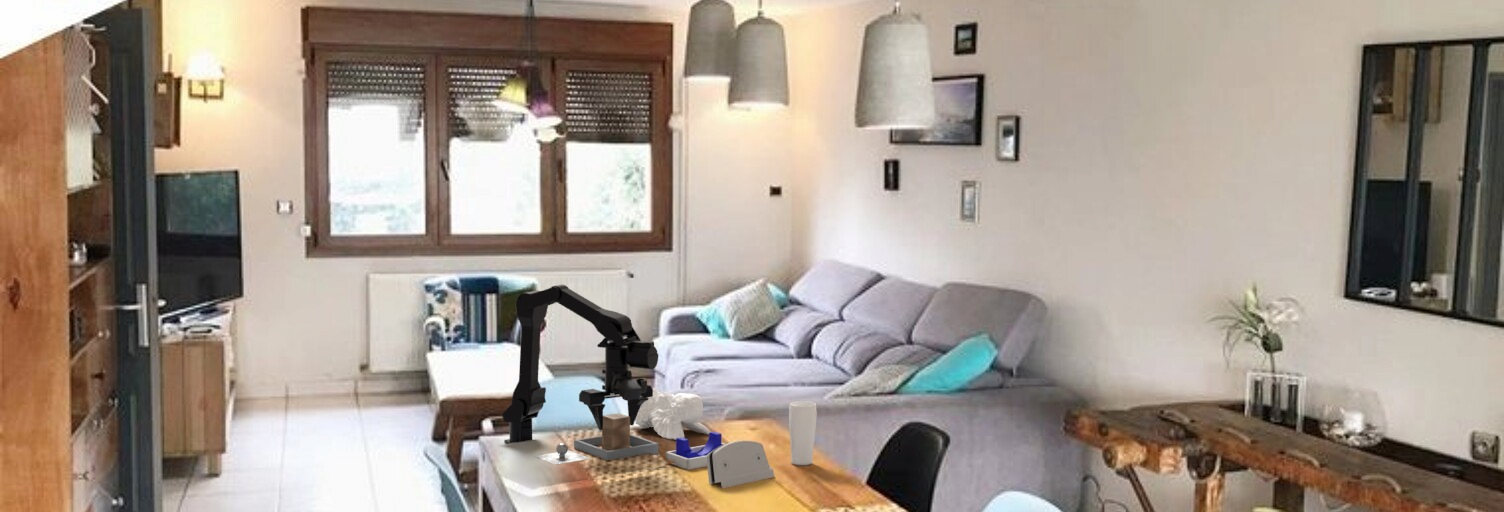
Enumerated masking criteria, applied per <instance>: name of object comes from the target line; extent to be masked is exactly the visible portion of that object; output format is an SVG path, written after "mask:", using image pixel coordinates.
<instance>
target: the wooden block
mask: <svg viewBox="0 0 1504 512" xmlns="http://www.w3.org/2000/svg"><path fill="white" fill-rule="evenodd" d="M630 434H631V425H630V417H629V416H628V415H626V414H622V413H620V412H617V413H612V414H603V429H602V430H601V436H602V444H601V449H604V450H607V451H610V450H616V449H622V448H629V447H631V446H630Z"/></svg>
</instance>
